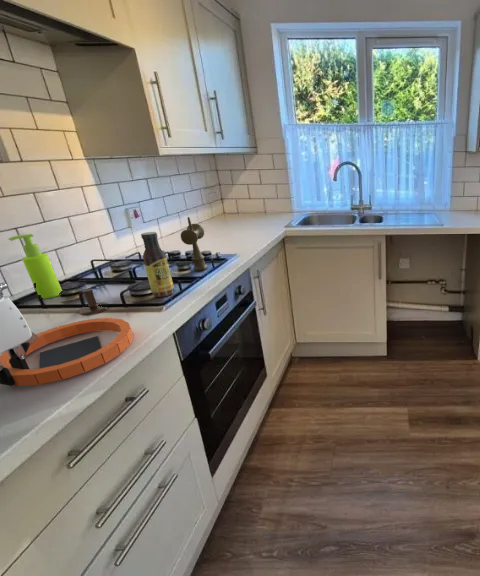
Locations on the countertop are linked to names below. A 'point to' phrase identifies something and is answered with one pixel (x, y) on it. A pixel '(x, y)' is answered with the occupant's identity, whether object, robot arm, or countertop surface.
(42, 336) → the ring
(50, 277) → the soap dispenser
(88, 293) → the post
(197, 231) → the kendama
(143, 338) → the countertop surface
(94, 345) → the pad
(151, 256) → the sauce bottle
